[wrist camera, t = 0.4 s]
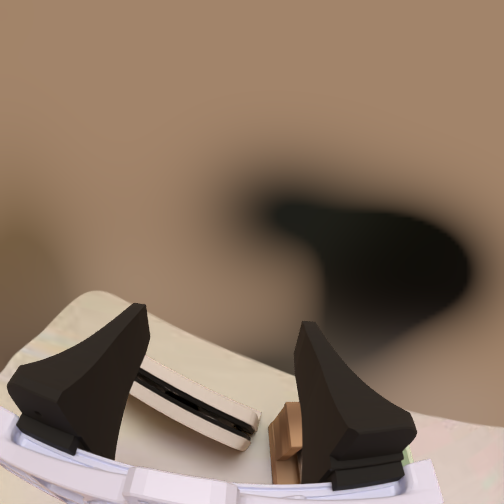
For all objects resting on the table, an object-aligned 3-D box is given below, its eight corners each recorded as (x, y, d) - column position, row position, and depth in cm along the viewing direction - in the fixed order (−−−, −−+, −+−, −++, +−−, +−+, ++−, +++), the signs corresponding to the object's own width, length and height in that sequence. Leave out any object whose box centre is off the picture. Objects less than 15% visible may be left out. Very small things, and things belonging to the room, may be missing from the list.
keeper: (342, 510, 20) (376, 500, 17) (275, 520, 19) (299, 516, 16) (327, 424, 29) (353, 399, 25) (268, 427, 28) (286, 402, 24)
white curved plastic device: (263, 414, 29) (277, 404, 21) (245, 451, 27) (252, 456, 19) (134, 350, 33) (104, 315, 24) (114, 381, 30) (77, 356, 22)
